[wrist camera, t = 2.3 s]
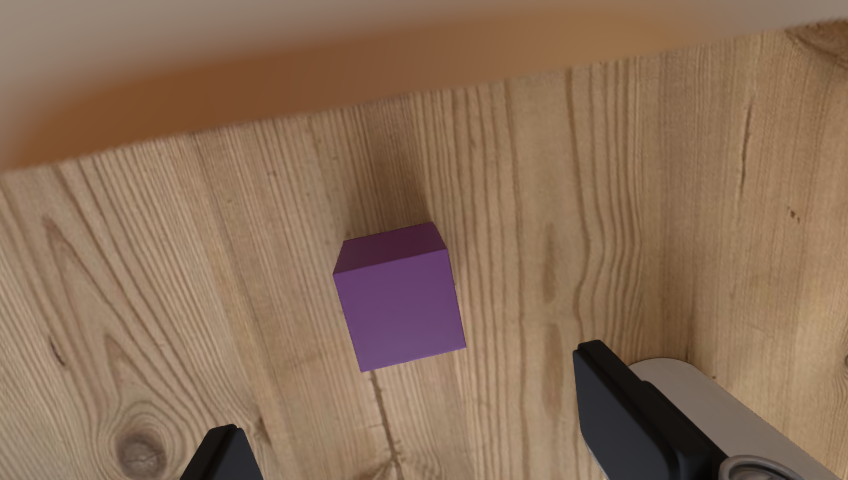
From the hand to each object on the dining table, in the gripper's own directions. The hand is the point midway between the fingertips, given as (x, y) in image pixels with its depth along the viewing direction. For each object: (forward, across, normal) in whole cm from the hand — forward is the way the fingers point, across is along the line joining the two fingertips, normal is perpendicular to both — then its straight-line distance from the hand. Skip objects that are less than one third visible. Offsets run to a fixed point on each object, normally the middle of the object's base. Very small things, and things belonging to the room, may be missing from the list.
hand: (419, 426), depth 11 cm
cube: (+11, 0, 0) cm, 11 cm away
